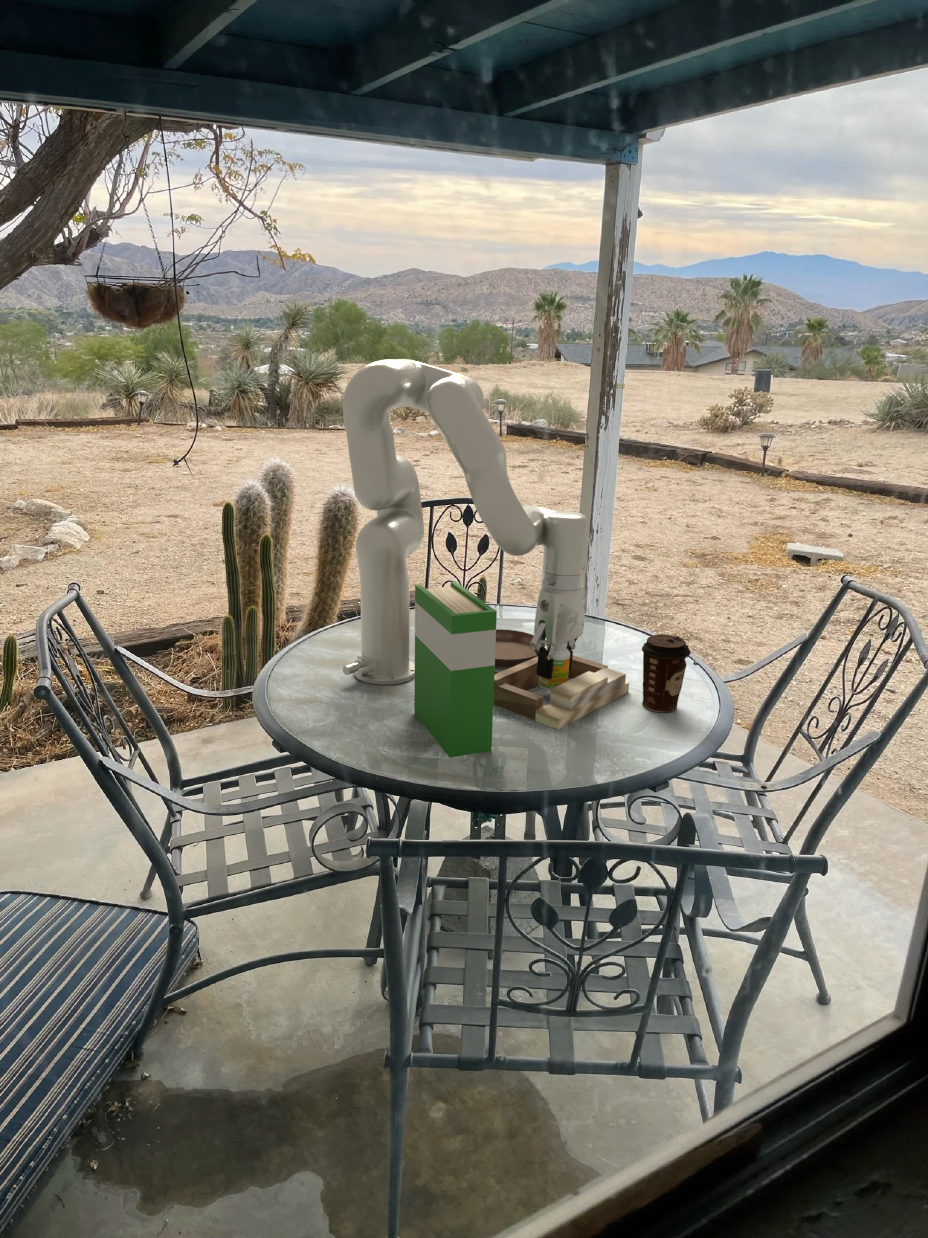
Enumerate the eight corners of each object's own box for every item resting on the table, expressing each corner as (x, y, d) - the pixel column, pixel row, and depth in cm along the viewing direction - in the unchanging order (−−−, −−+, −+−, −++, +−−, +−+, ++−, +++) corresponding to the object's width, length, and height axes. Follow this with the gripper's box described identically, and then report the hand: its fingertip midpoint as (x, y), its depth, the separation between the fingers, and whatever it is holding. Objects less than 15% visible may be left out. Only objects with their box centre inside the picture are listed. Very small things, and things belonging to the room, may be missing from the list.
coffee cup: (686, 701, 160) (693, 636, 156) (682, 718, 153) (689, 651, 148) (639, 694, 163) (645, 630, 159) (633, 711, 155) (639, 644, 151)
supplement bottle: (548, 694, 157) (552, 645, 154) (533, 683, 161) (536, 635, 158) (572, 689, 159) (577, 641, 156) (556, 679, 164) (561, 632, 161)
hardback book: (414, 713, 152) (415, 584, 144) (452, 708, 155) (455, 581, 147) (449, 757, 136) (452, 615, 129) (491, 750, 139) (496, 611, 132)
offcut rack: (558, 729, 147) (560, 702, 145) (486, 702, 157) (487, 676, 156) (628, 692, 163) (630, 667, 162) (559, 669, 174) (560, 645, 172)
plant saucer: (548, 672, 173) (549, 658, 172) (461, 670, 173) (461, 656, 172) (541, 643, 190) (542, 630, 189) (462, 641, 190) (463, 628, 189)
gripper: (550, 593, 145) (542, 691, 151) (605, 576, 157) (596, 667, 163) (516, 584, 150) (509, 678, 156) (572, 567, 162) (564, 656, 168)
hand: (554, 671), depth 159 cm, fingers closed on supplement bottle, 5 cm apart
